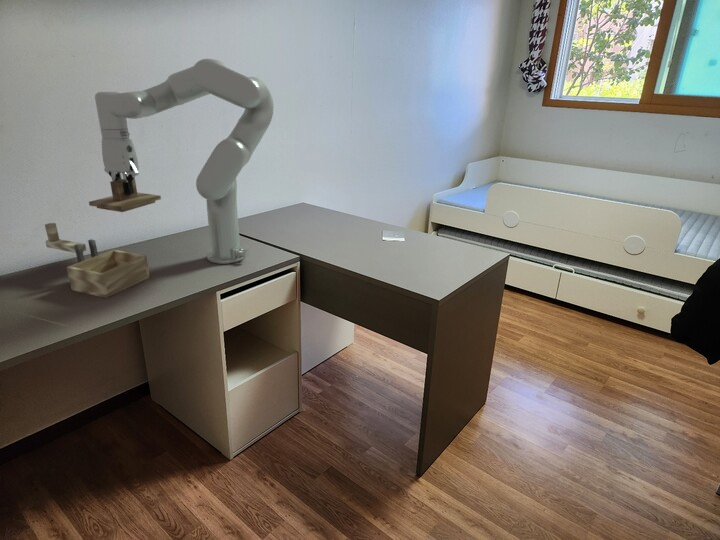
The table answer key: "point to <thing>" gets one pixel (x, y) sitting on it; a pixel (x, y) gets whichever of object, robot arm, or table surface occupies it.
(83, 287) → the light wooden box
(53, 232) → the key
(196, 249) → the table surface
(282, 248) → the table surface
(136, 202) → the lid
